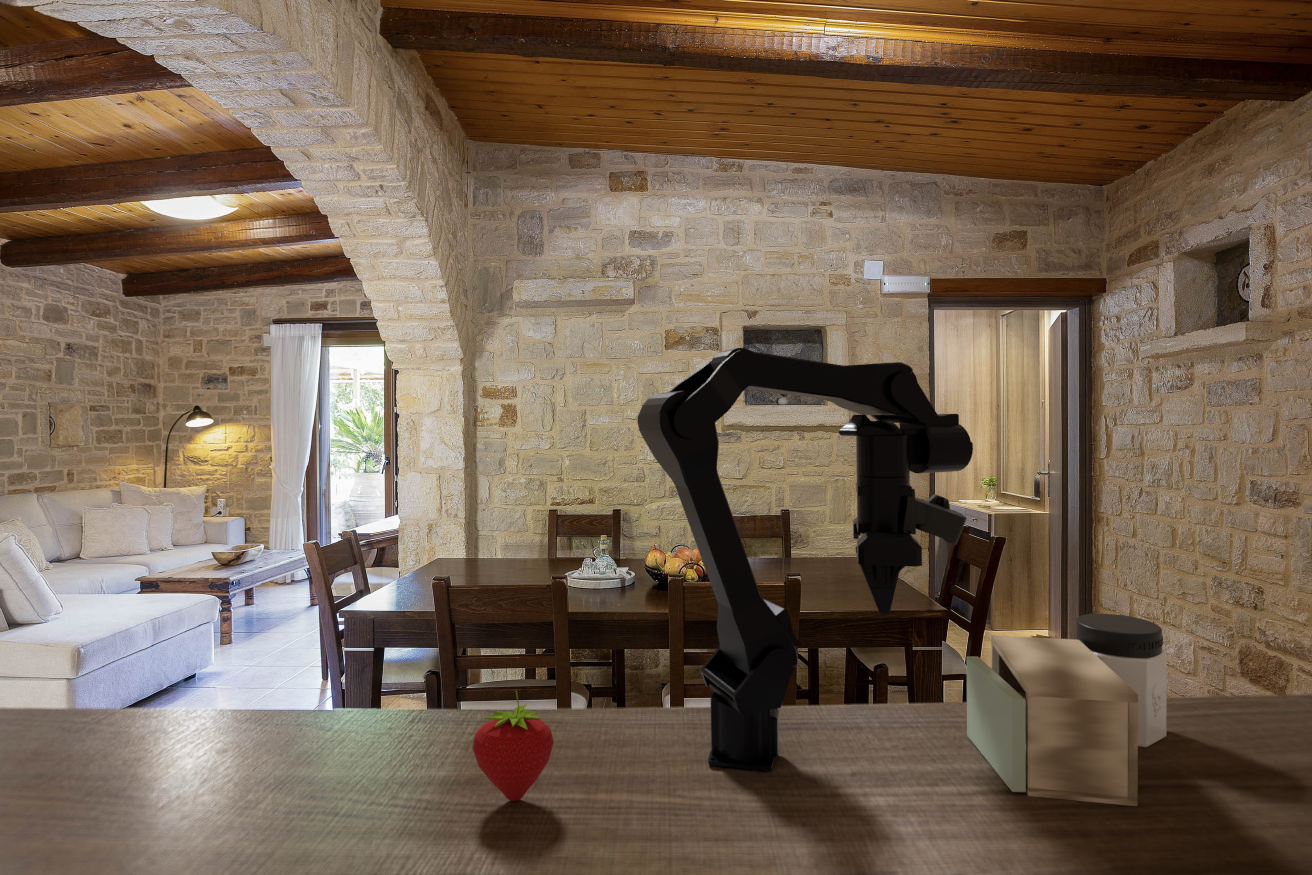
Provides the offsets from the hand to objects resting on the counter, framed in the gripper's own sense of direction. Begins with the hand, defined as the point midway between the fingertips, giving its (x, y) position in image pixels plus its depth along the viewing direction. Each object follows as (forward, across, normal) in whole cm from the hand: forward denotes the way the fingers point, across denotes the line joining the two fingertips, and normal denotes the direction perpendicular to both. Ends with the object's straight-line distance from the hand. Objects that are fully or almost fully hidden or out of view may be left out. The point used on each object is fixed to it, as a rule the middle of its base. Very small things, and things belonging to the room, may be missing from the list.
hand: (884, 613), depth 83 cm
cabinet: (+13, -5, -16) cm, 21 cm away
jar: (+13, +4, -25) cm, 29 cm away
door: (+13, -7, -10) cm, 18 cm away
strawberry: (+13, -23, +35) cm, 44 cm away
